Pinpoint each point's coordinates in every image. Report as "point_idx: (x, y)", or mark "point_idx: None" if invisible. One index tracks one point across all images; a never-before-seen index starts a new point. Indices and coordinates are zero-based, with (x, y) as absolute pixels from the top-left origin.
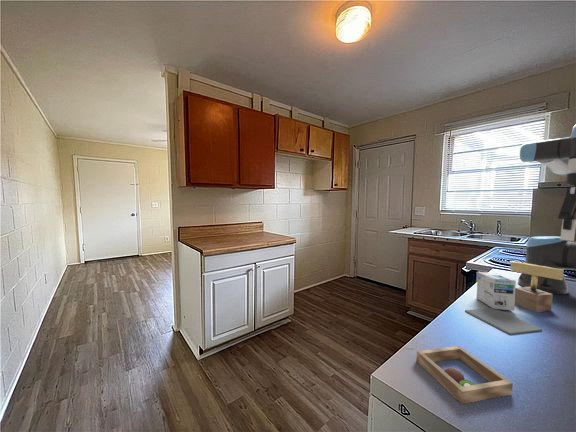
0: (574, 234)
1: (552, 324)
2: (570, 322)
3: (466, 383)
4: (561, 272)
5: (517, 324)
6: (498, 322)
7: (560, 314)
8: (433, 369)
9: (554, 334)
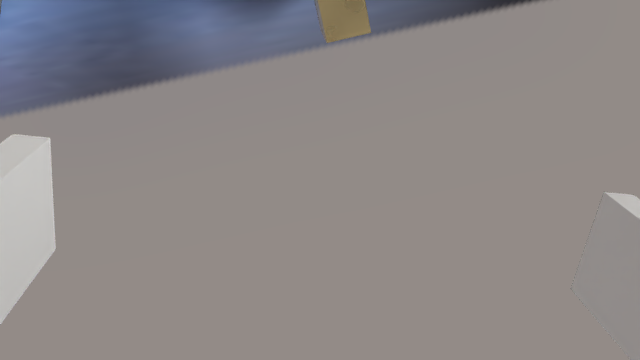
0: (13, 297)
1: (133, 26)
2: (245, 60)
3: None
4: (323, 29)
5: None
6: None
7: None
8: None
9: (19, 62)
